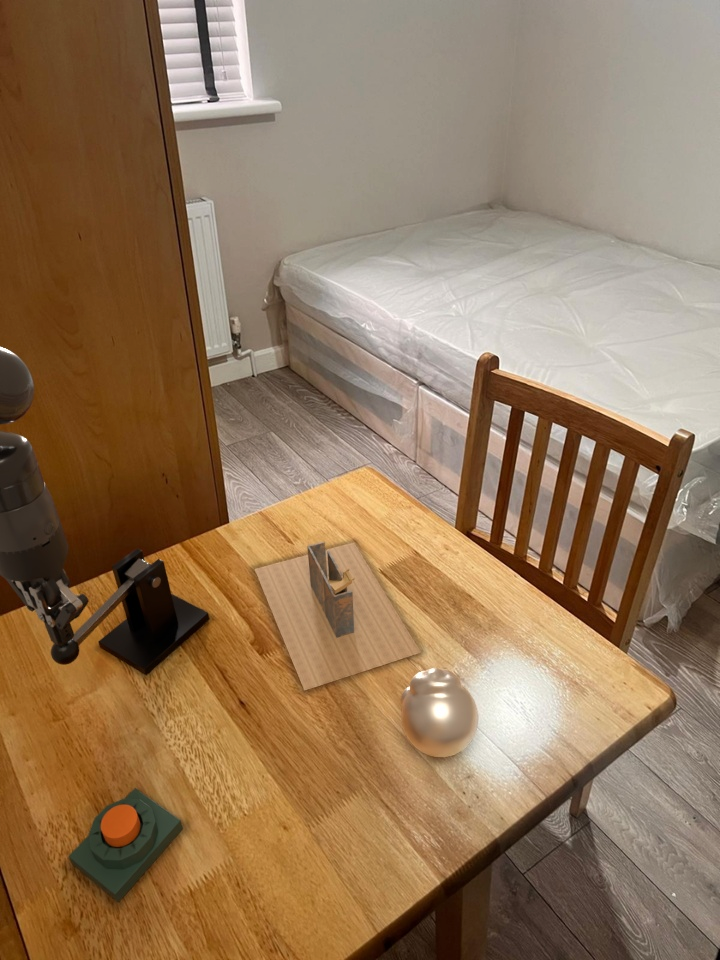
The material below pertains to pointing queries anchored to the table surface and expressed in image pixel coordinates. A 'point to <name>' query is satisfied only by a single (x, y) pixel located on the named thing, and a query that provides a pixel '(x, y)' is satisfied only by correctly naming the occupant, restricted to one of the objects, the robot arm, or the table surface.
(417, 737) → the silver rounded lump
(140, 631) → the bracket
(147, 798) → the button box
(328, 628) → the architectural model on board
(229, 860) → the table surface
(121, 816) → the button
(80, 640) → the lever
